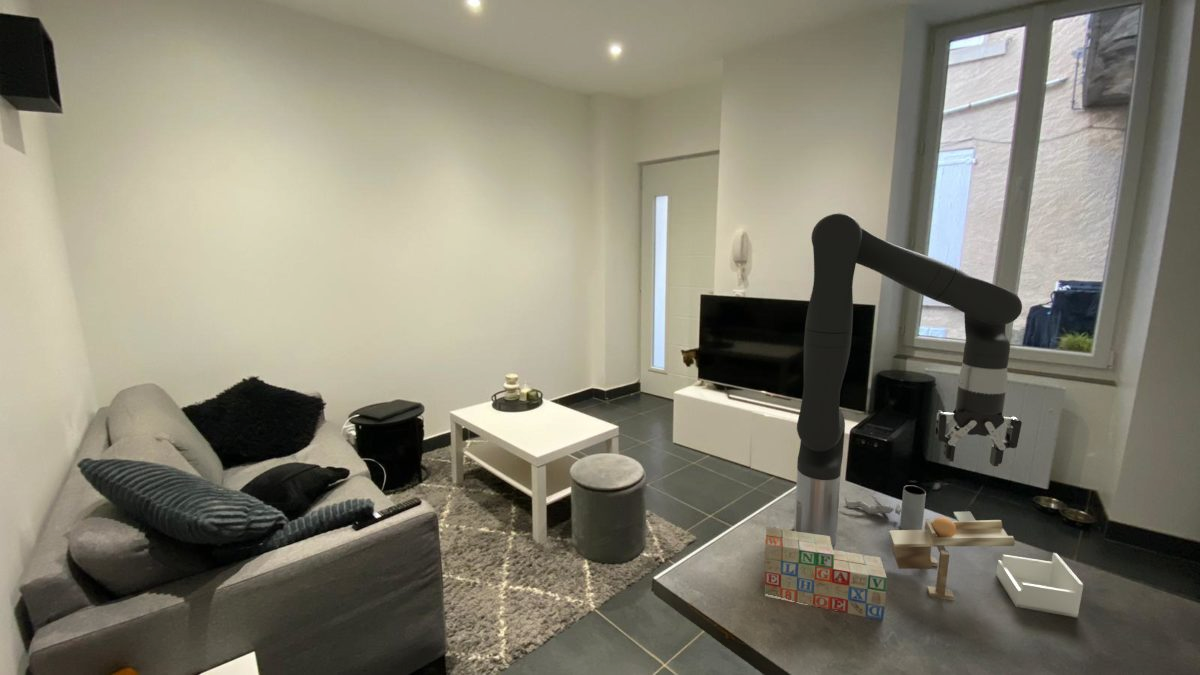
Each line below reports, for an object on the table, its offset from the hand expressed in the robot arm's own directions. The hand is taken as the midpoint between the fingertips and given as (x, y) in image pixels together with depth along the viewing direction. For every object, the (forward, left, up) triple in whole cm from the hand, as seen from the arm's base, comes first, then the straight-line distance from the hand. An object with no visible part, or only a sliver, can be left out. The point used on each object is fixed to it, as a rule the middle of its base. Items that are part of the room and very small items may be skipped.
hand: (971, 462), depth 100 cm
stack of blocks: (-29, -20, -24) cm, 42 cm away
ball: (-6, -7, -12) cm, 15 cm away
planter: (-7, +11, -24) cm, 27 cm away
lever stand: (-7, -7, -24) cm, 26 cm away
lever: (-4, -4, -19) cm, 20 cm away
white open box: (+10, -7, -24) cm, 27 cm away
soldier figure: (-14, +16, -24) cm, 32 cm away
